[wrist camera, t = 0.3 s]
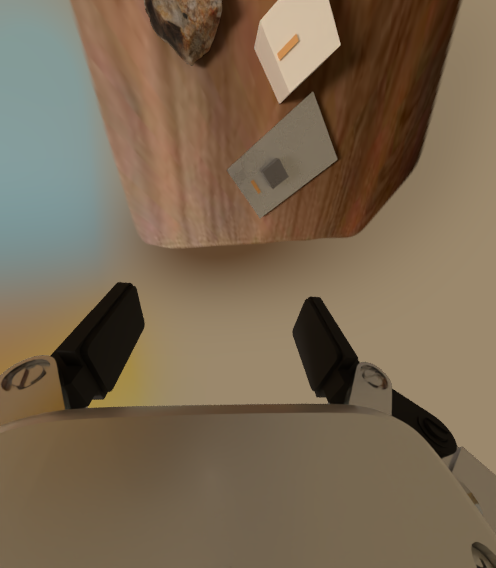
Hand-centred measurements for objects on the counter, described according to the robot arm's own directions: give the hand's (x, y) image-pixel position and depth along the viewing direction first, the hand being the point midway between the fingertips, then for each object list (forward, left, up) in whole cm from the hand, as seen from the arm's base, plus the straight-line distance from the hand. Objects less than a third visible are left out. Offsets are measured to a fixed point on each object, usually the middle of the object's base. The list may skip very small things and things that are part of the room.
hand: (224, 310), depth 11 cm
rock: (-10, -20, -30) cm, 38 cm away
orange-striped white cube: (-18, -9, -30) cm, 36 cm away
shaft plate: (-11, +1, -30) cm, 32 cm away
